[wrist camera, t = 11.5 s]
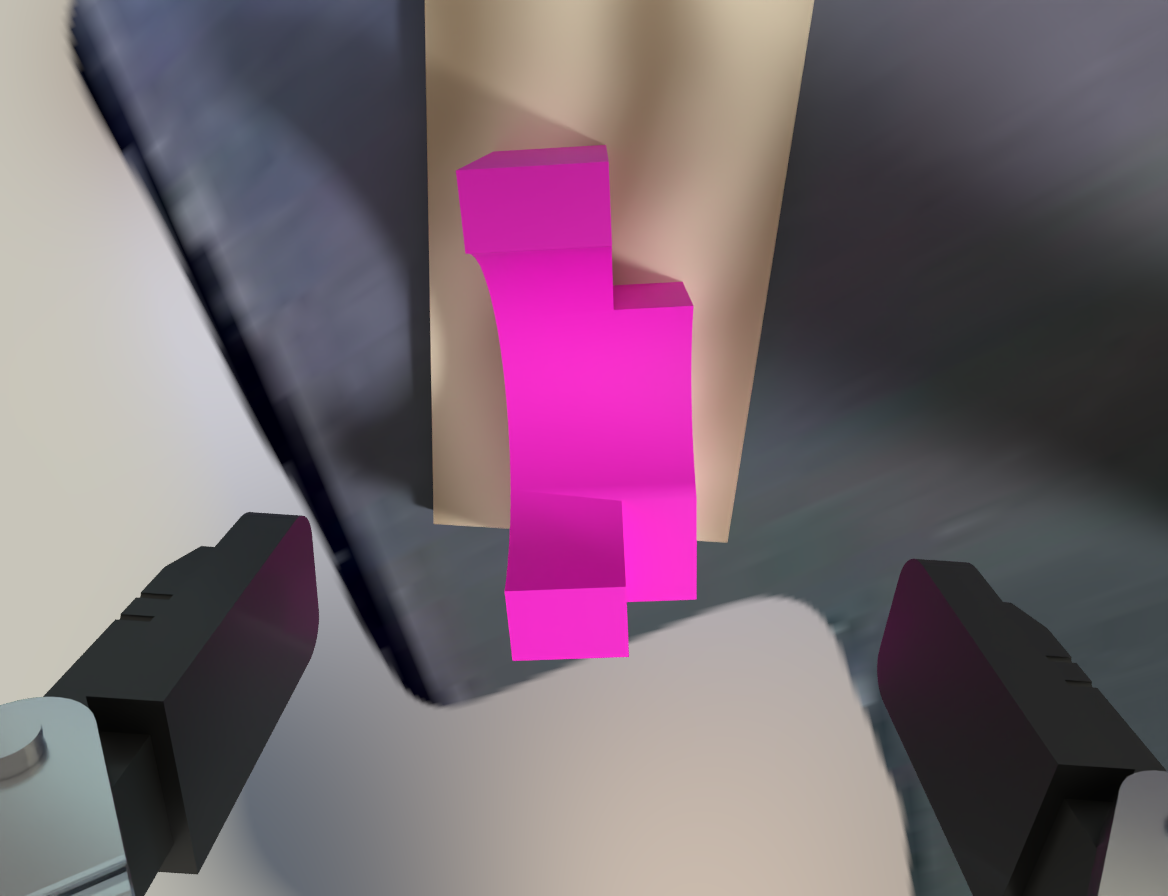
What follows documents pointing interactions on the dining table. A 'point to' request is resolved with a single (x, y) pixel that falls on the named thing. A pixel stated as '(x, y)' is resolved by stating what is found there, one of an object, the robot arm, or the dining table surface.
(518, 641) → the magenta cradle block
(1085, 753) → the robot arm
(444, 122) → the oak board
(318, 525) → the dining table surface
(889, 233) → the dining table surface
